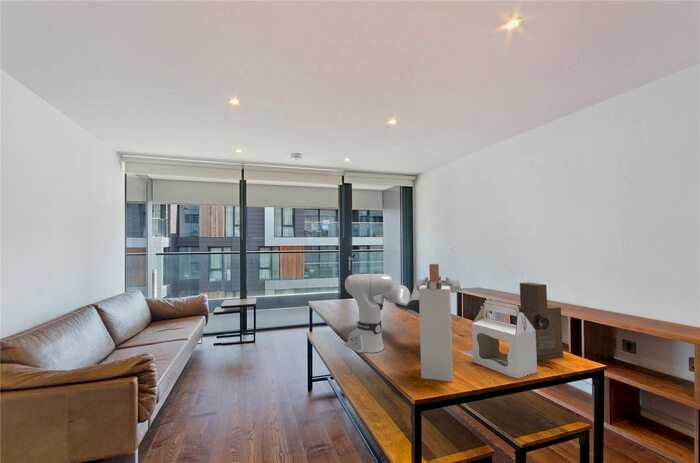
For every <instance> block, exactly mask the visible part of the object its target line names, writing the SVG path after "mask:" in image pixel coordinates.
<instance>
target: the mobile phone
mask: <svg viewBox="0 0 700 463" xmlns="http://www.w3.org/2000/svg"><path fill="white" fill-rule="evenodd" d="M463 354H464V355H467V356H470V357H473V349H471V350H468V351H467V350H466V351H464V352H463Z"/></svg>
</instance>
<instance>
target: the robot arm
mask: <svg viewBox="0 0 700 463" xmlns="http://www.w3.org/2000/svg"><path fill="white" fill-rule="evenodd" d="M429 280H430V279H429V277H428V276H424V278H422V279H419V278H418V279H416V280H415V285H414V288H413V290H412V293H411V292H410V290H409V288H408V287H407V286H405V285H403V284H396V285H395V284H394V279H393V277H392V276H391V275H390V274H387V273H379V272H378V273H354V274H350V275H348V276H347V277H346V278H345V281H344V288H345V290H346V292H347V293H348V294H349V295H351V296H352V297H353V299H354V300H355V302H356V304H357V306H358V315H359V316H358V318H359V320H358V321H356V322H355V324H356V325H357V326H356V328H355V329H353V330H352V331H351V332H350V333H349V335H348V341H345V342H344V343H343V346H344V347H347V348H348V349H350V350H352V351H354V352H355V353H360V354H362V353H368V354H369V353H370V354H371V353H378V352H382V351H384V350H385V346H384V342H383V334H382V321H381V311H382V310H383V308H384V302H385V301H386V302H388V303H390V304H393V305H395V307H396V308H398V309H400V310H402V311H404V312H407V313H411V314H413V315H415V316H418V317H420V311H419V288H420V287H421V285H424V286H427V282H428V281H429ZM441 280H442V286H450V294H452V293H453V294H455V293H459V292H460V291H462V288H461V281H460V280H458V279H451V278H450V277H445V279H441ZM383 349H384V350H383Z"/></svg>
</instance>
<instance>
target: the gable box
mask: <svg viewBox="0 0 700 463" xmlns="http://www.w3.org/2000/svg"><path fill="white" fill-rule="evenodd" d="M519 306H520V305H518V304H513V303H507V302H502V301H501V302H500V301H496V300H489V299H486V300H485V301H484V302H483V305H481V306H480V310H479V312H478V313H477V314H476V316H475V318H474V319H473V321H472V323H471V334H472V335H471V336H472V340H471V341H472V350H473V356H472V362H473V363H475V364H478V365H479V366H483V367H485V368H487V369H489V370H493V371H496V372H498V373H500V374H503V375H505V376H508V377H511V378H513V377H514V378H513V379H516V378H517V380H519V379H522V378H525V377H528V376H531V375H534V374H536V373H538V361H537V355H536V332H535V329H534V328H533V326H532V325H531V323H530V322H529V321H528V319H527V318H526V316H525V314H523V313H522V312H520V309H519ZM490 312H495V313H500V314H504V315H509V316H513V315H514V316H517V324H516V325H514V324H513V323H510V322H504V321H500V320H496V319H492V318H491V315H490ZM499 340H503V341H505V342H507V343H508V345H509V350H508V353H503V352H501V351H500V341H499ZM530 374H531V375H530ZM527 375H528V376H527ZM524 376H525V377H524ZM521 377H522V378H521ZM518 378H519V379H518Z"/></svg>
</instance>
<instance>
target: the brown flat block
mask: <svg viewBox="0 0 700 463" xmlns="http://www.w3.org/2000/svg"><path fill="white" fill-rule="evenodd" d="M439 266H440V265H439V263H429V280H430V281H431V283H430V284H429V289H430V291H436V290H437V287H438V281H439V280H442V278H441V276H440V267H439Z"/></svg>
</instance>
